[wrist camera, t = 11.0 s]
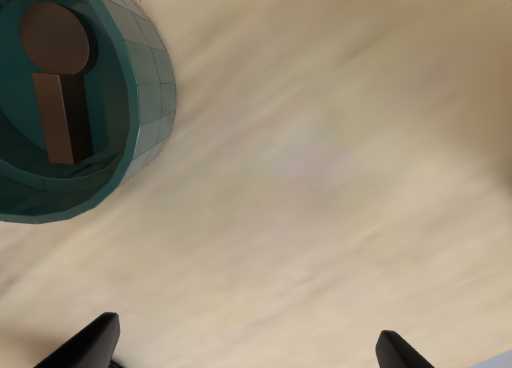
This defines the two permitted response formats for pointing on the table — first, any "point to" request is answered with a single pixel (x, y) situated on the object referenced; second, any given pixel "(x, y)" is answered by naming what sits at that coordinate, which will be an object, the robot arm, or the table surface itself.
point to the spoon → (60, 76)
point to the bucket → (99, 113)
